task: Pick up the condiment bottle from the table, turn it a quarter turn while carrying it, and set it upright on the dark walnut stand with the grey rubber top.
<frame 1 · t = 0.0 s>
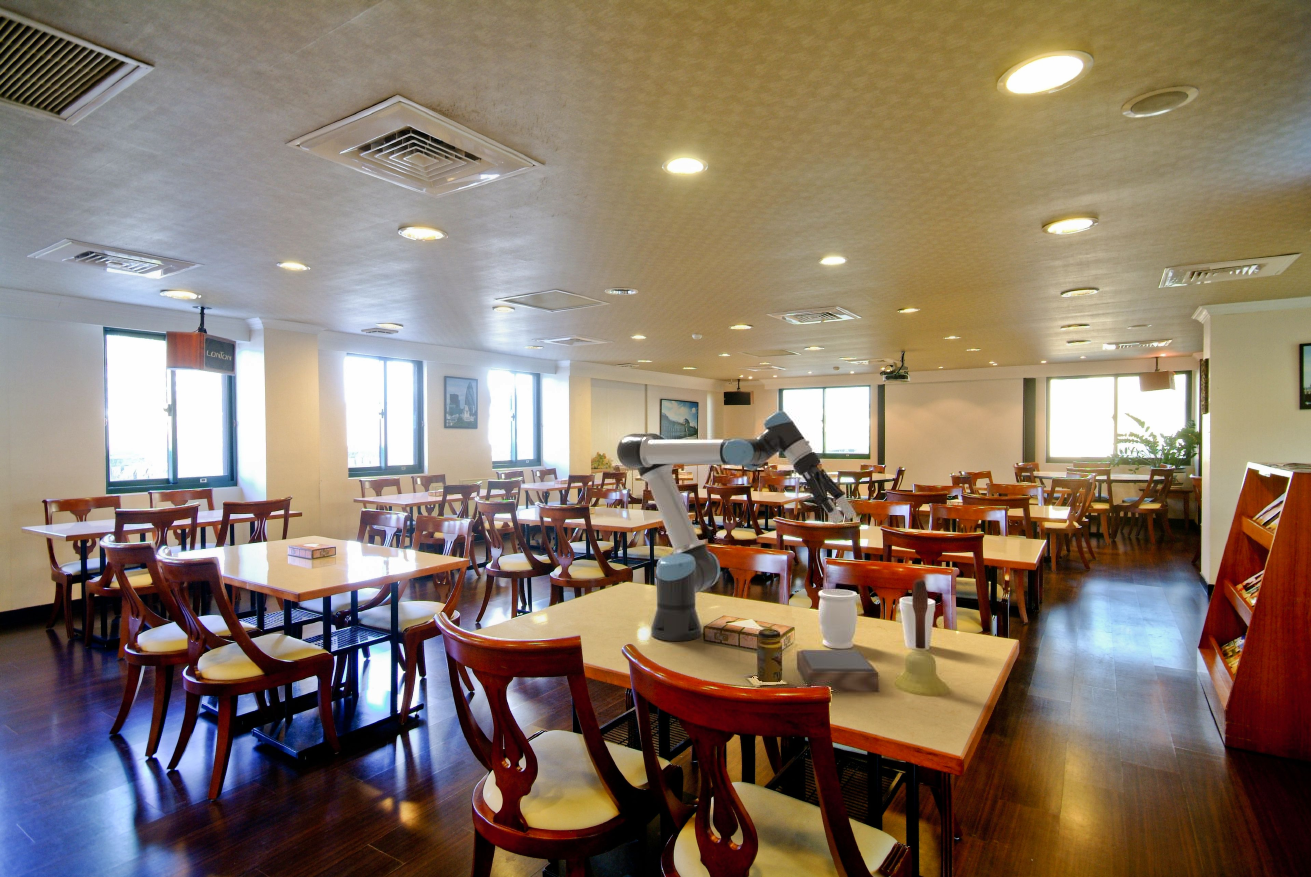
hand: (846, 519, 190), 36 cm above the table, tool tilted 35°, fingers open, 13 cm apart
handbell: (920, 687, 159), on the table
jar: (837, 645, 192), on the table
foam cup: (917, 647, 190), on the table
stand: (835, 679, 164), on the table
condiment: (766, 681, 163), on the table
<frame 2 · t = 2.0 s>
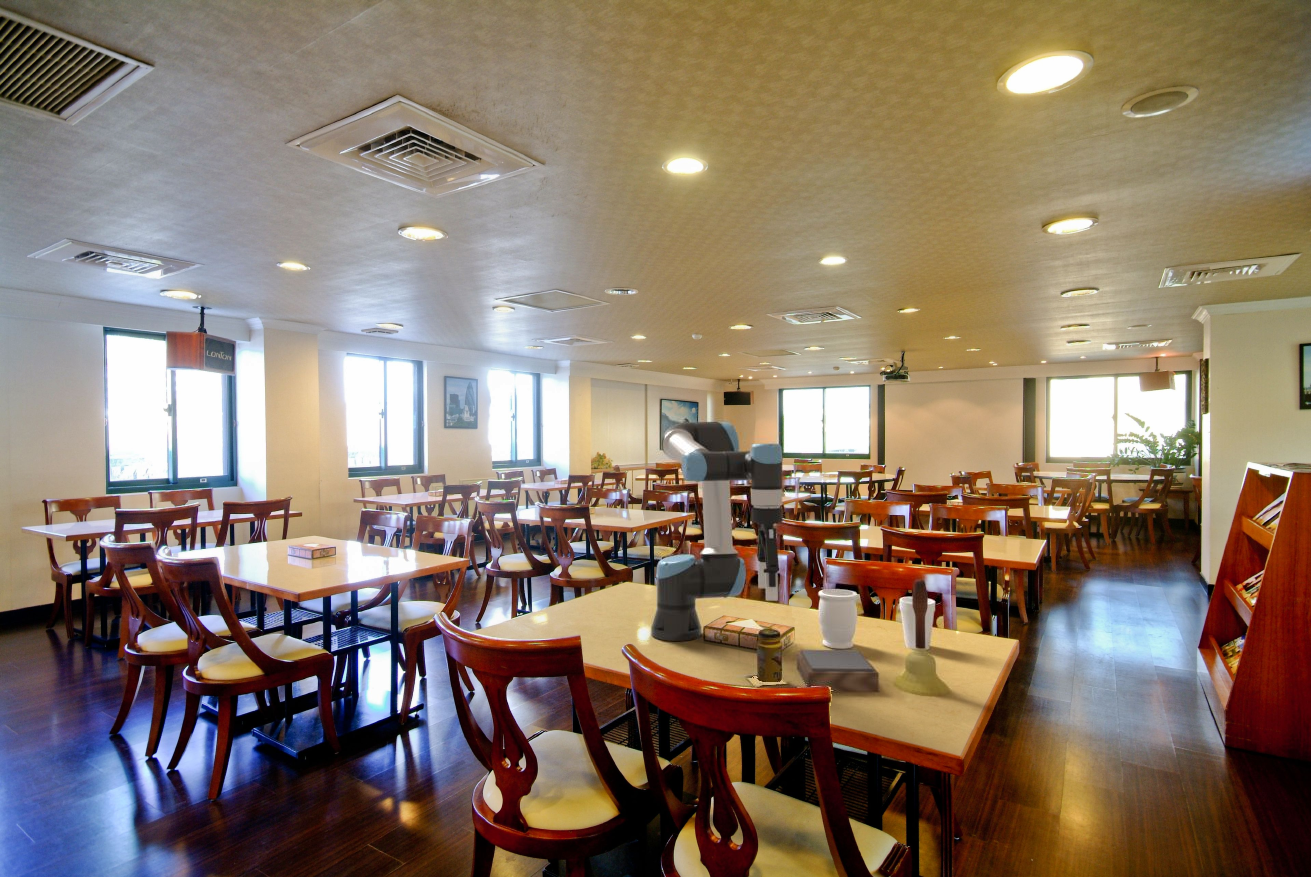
hand: (767, 594, 164), 21 cm above the table, tool pointing down, fingers open, 13 cm apart
nothing on the table moved.
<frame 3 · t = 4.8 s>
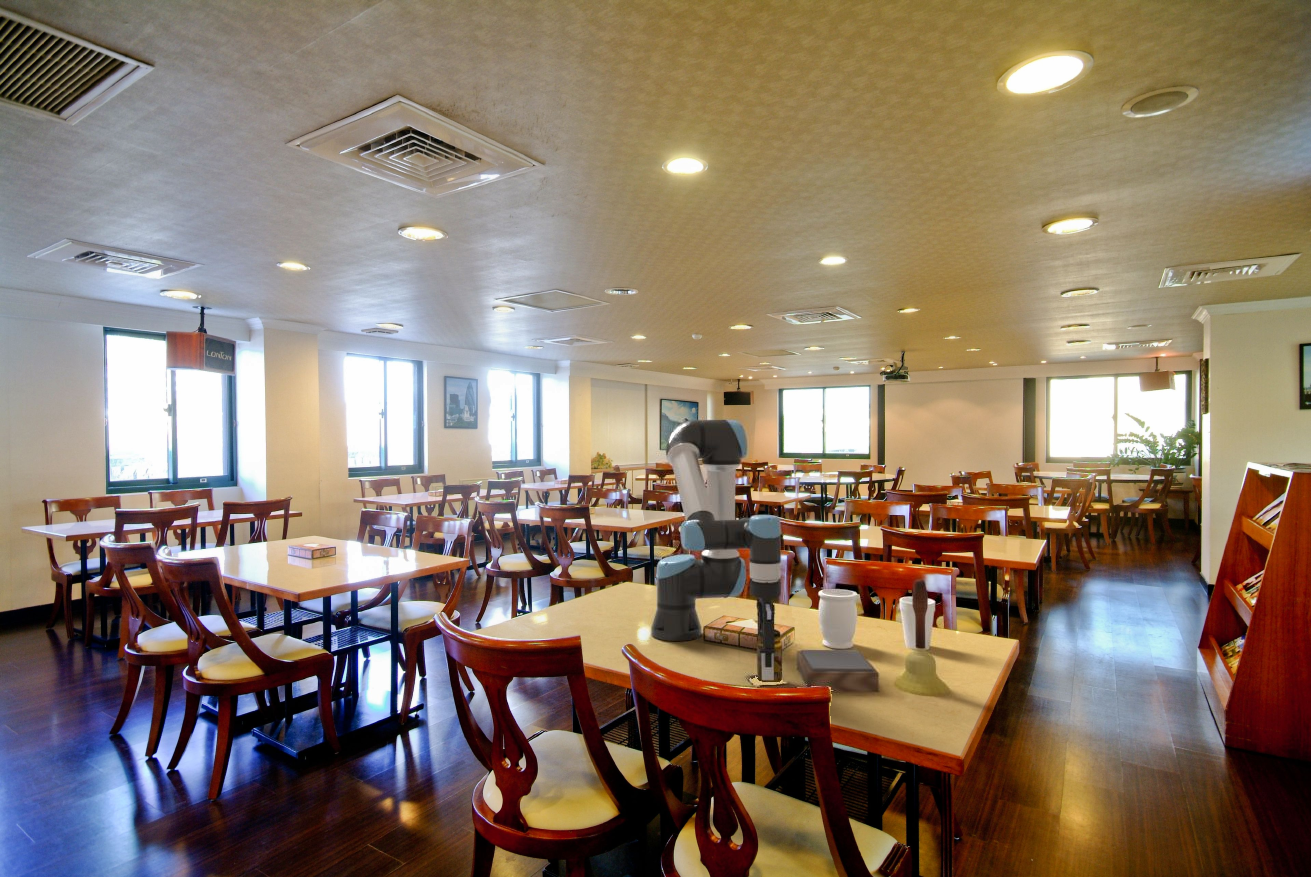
hand: (766, 674, 163), 1 cm above the table, tool pointing down, fingers closed on condiment, 6 cm apart
condiment: (766, 681, 163), on the table, touching gripper
everything else where it was.
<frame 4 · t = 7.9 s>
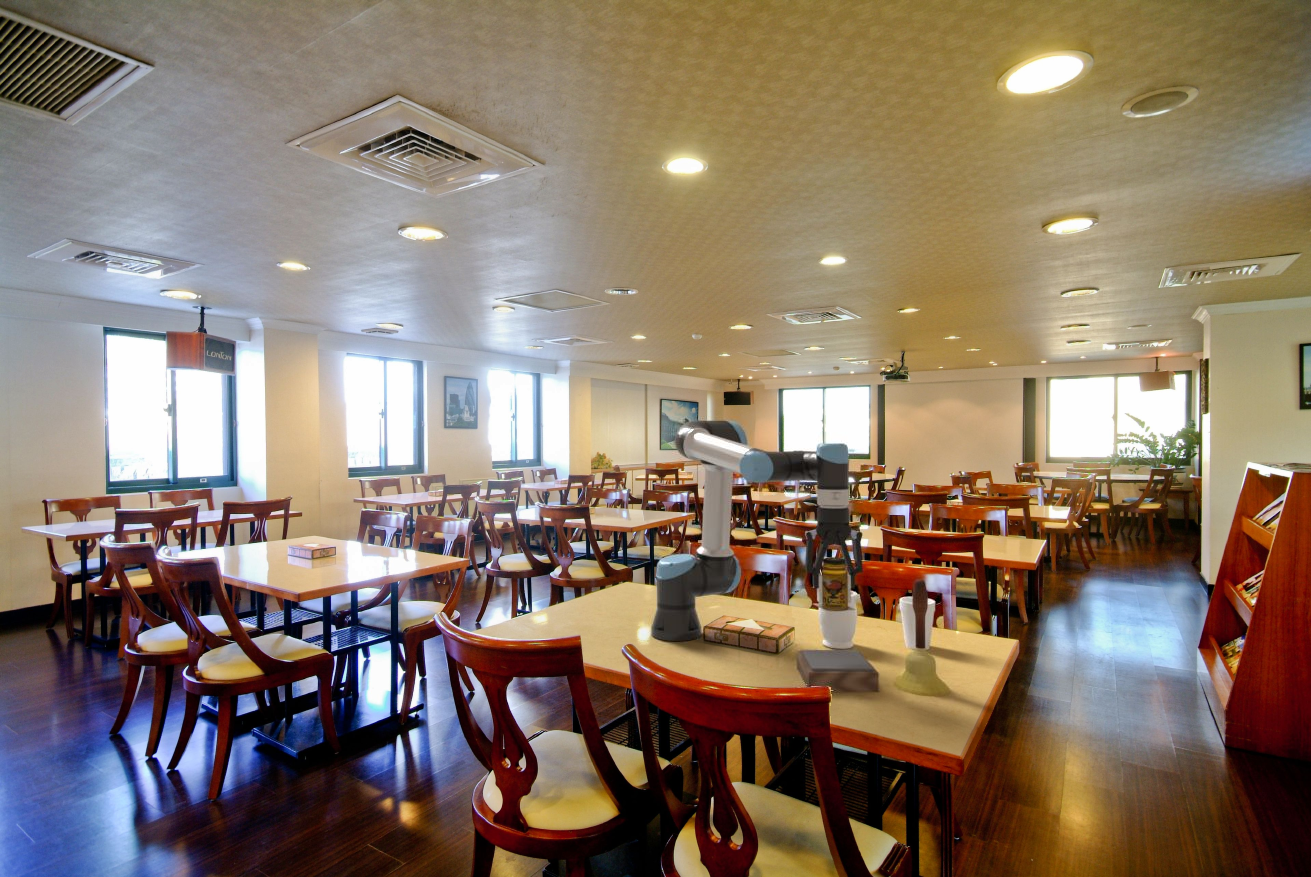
hand: (833, 601, 164), 19 cm above the table, tool pointing down, fingers closed on condiment, 6 cm apart
condiment: (833, 608, 164), point 17 cm above the table, touching gripper
everything else where it was.
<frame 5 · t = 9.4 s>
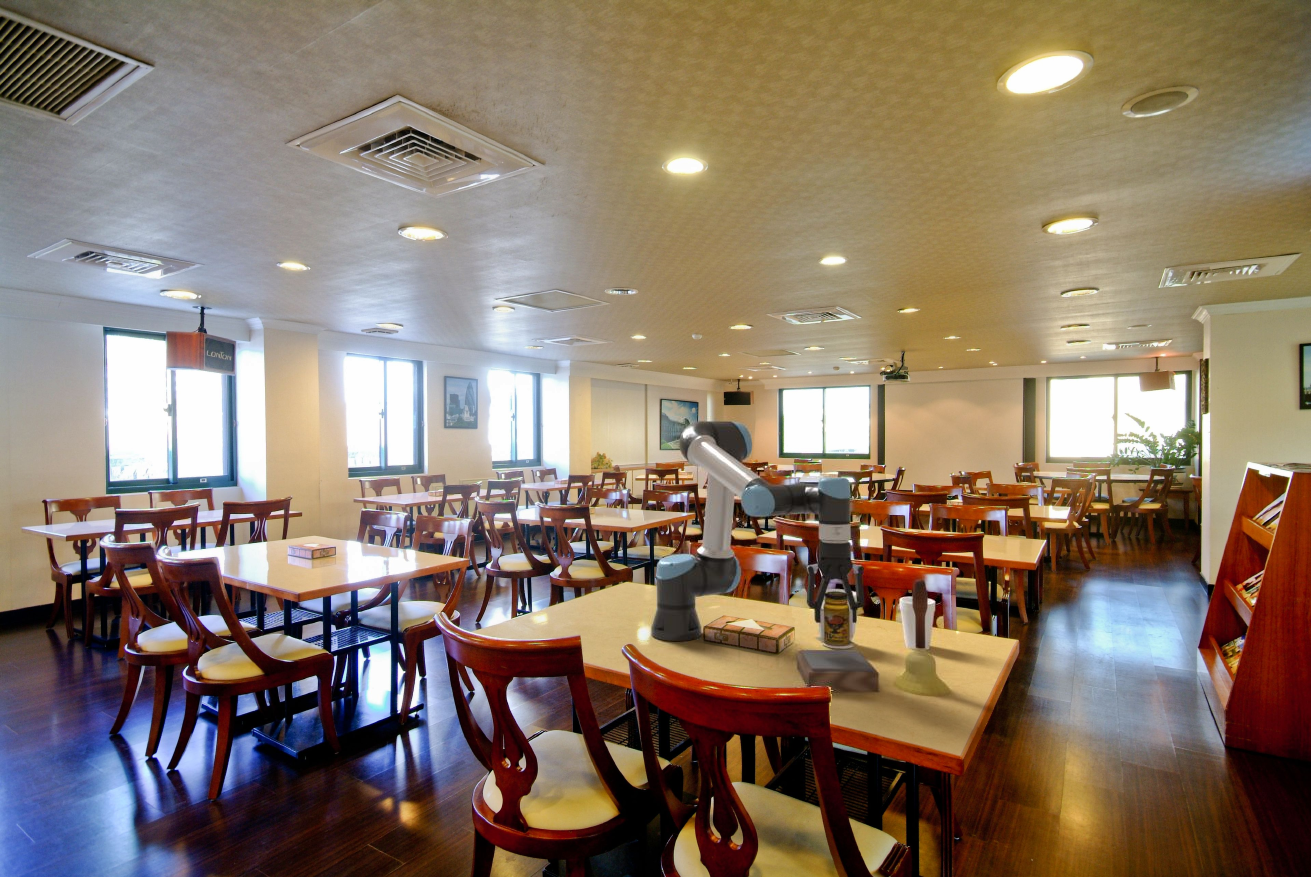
hand: (835, 635, 164), 11 cm above the table, tool pointing down, fingers closed on condiment, 6 cm apart
condiment: (835, 642, 164), point 9 cm above the table, touching gripper
everything else where it was.
when the fingers open (8 cm above the table, at t = 10.7 s): condiment drops 1 cm, resting on stand.
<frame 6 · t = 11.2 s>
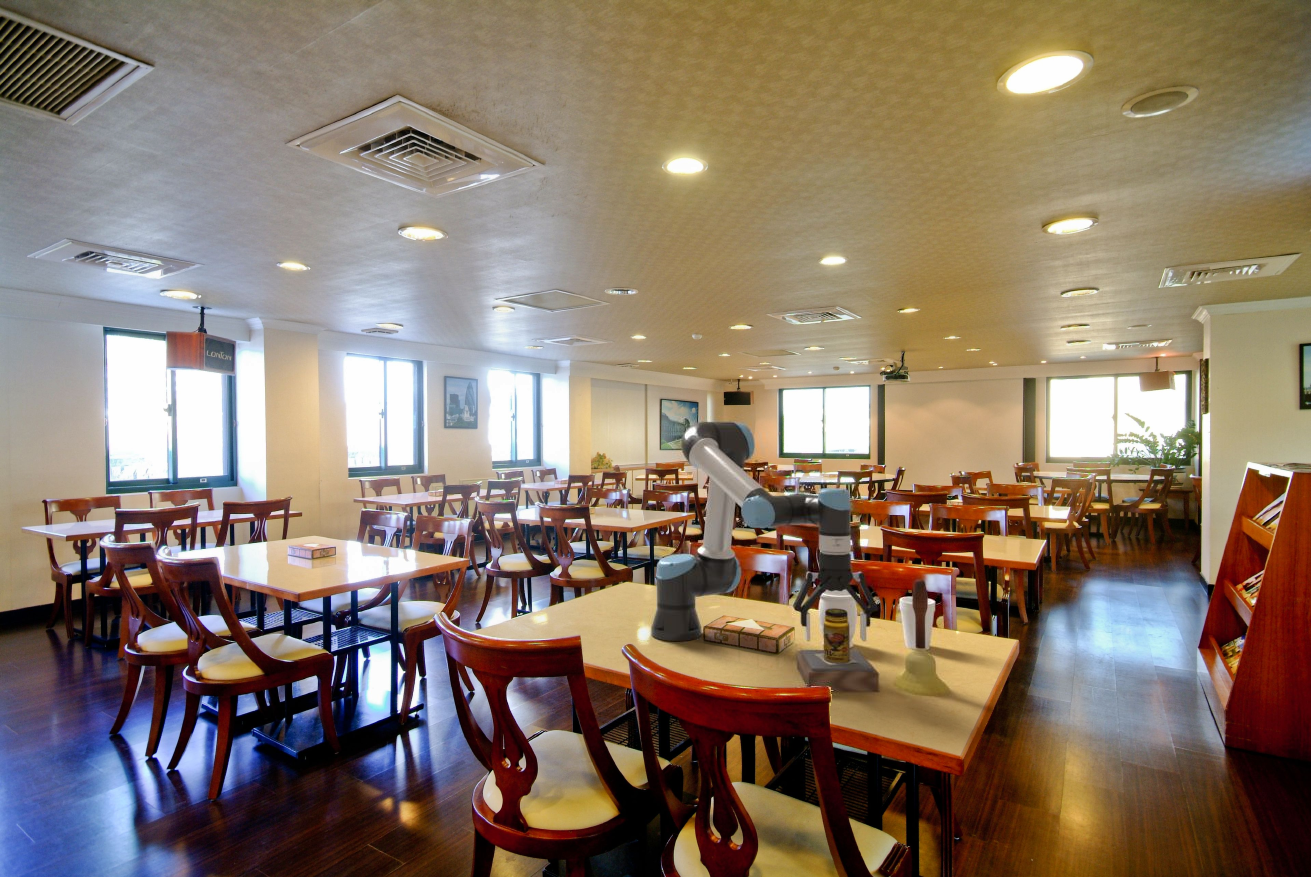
hand: (835, 639, 164), 10 cm above the table, tool pointing down, fingers open, 13 cm apart
condiment: (835, 659, 164), point 5 cm above the table, touching stand
everything else where it was.
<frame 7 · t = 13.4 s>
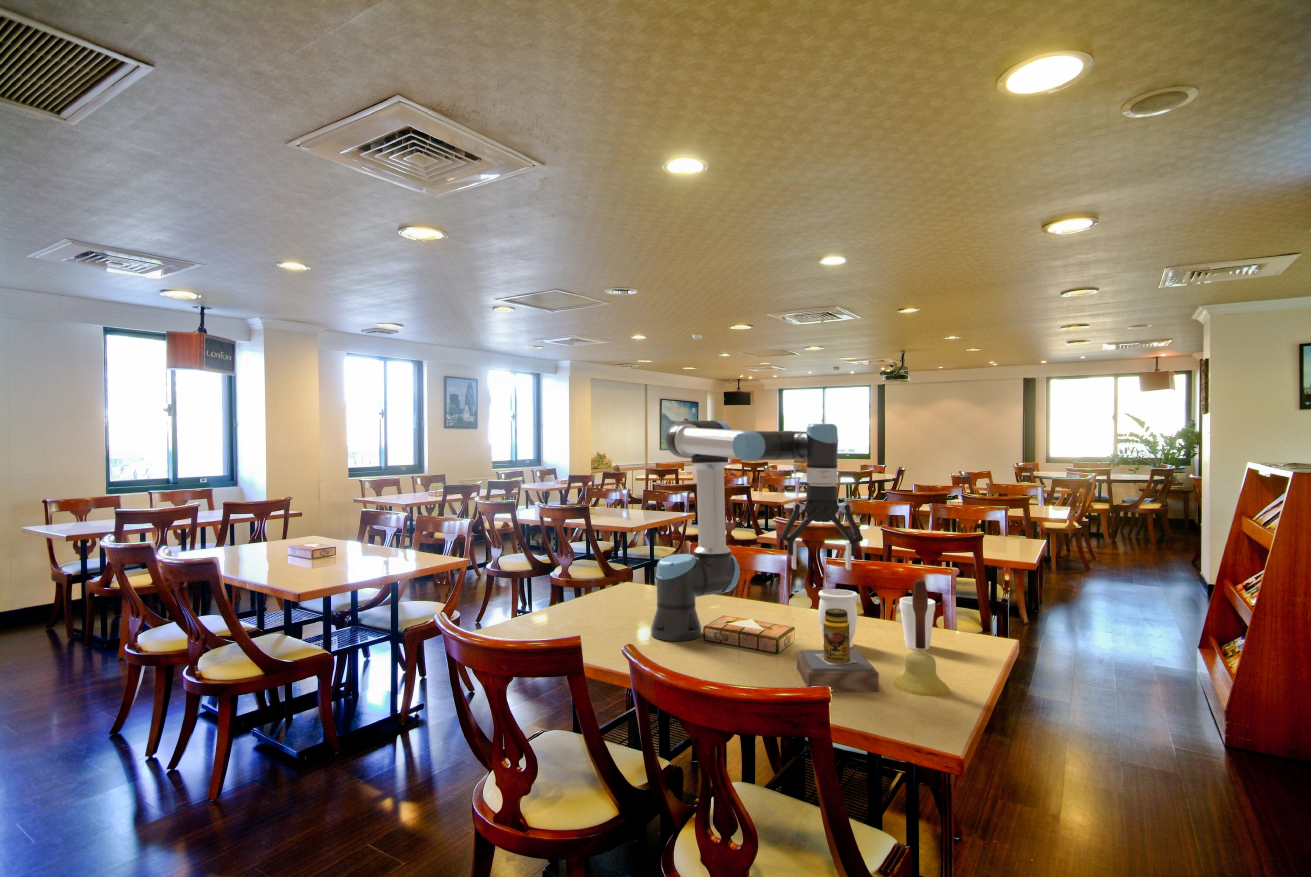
hand: (821, 568, 170), 26 cm above the table, tool pointing down, fingers open, 13 cm apart
nothing on the table moved.
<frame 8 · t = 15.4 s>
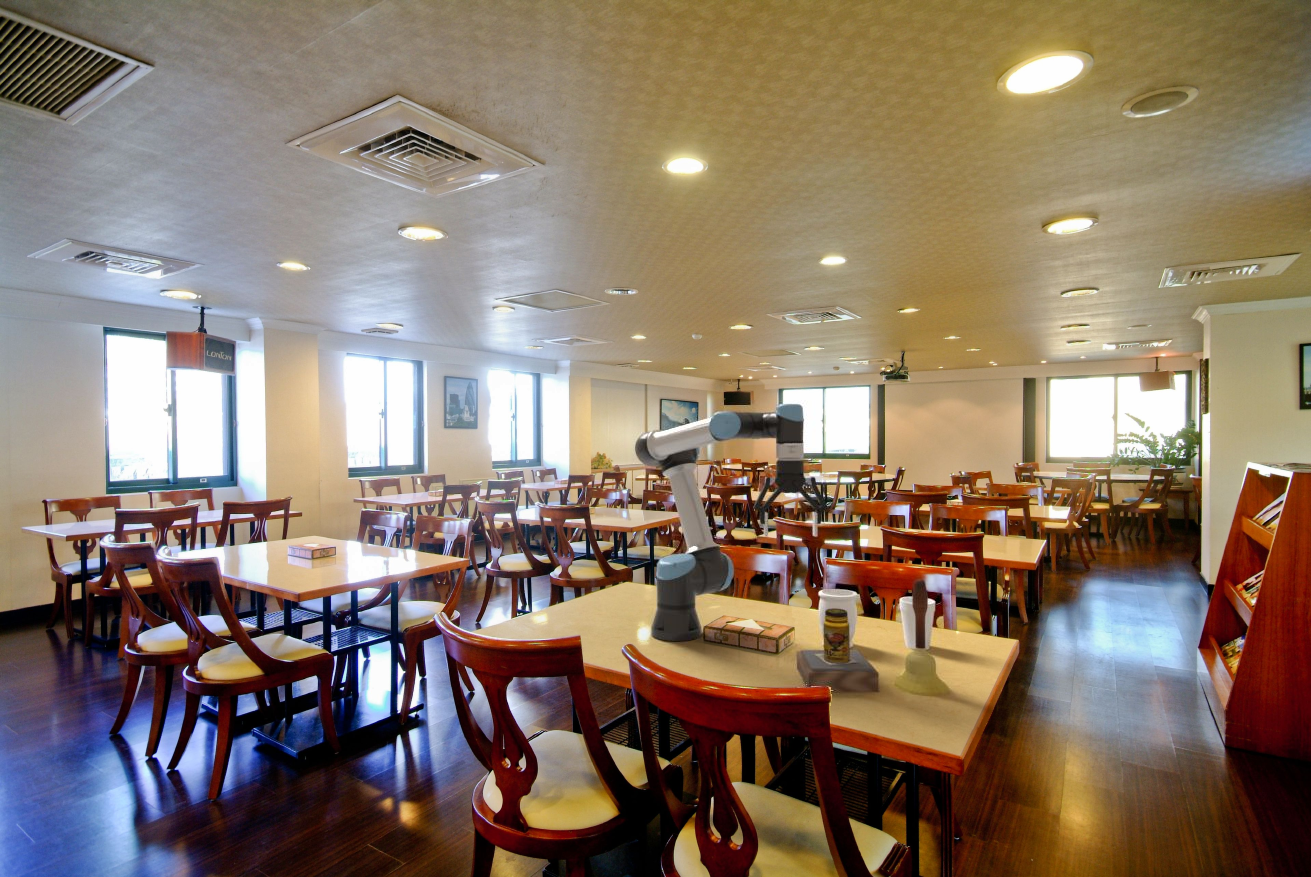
hand: (790, 536, 187), 32 cm above the table, tool pointing down, fingers open, 13 cm apart
nothing on the table moved.
at the end: condiment inside the target area on the stand (0.0 cm from its centre), point 4.8 cm above the stand's base; condiment tilted 0°; the gripper is holding nothing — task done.
